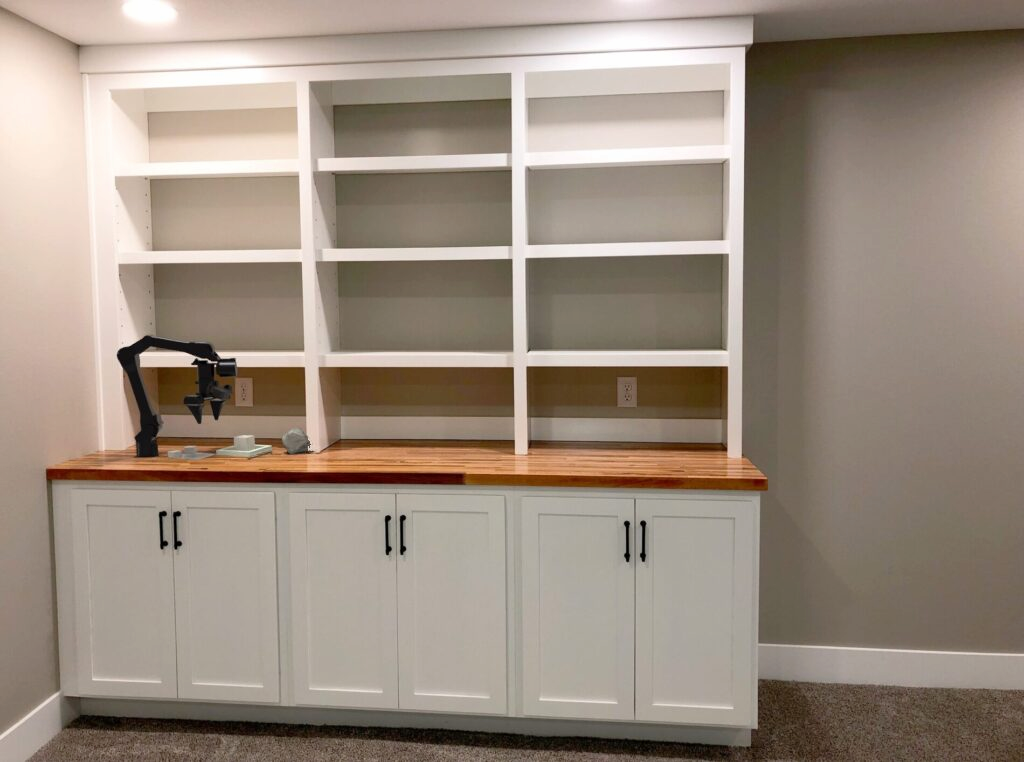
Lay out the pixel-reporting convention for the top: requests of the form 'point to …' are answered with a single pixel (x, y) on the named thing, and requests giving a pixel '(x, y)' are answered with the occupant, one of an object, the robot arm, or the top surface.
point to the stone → (296, 441)
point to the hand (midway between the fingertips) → (208, 422)
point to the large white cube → (244, 443)
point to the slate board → (188, 453)
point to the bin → (257, 450)
